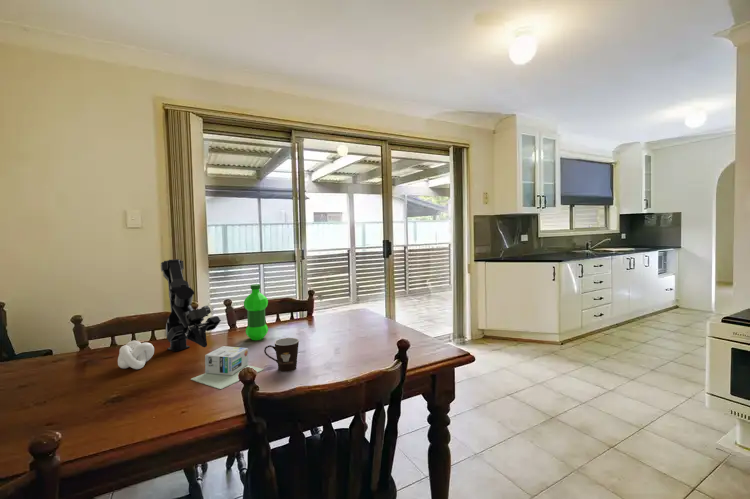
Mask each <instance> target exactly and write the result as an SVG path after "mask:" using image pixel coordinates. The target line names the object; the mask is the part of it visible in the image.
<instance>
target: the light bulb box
mask: <svg viewBox="0 0 750 499" xmlns="http://www.w3.org/2000/svg"><path fill="white" fill-rule="evenodd" d="M247 365H249V347H241V346H240V347H239V346H238V347H237V346H227V345H226V346H224V345H222V346H221V347H219V348H217V349H214V350H213V351H210V352H208V353H206V354H205V355H204V366H205V367H204V368H205V370H204V373H211V374H222V375H234V374H235V373H236V372H238V371H239V370H240V369H242V368H244V367H245V366H247Z"/></svg>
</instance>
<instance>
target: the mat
mask: <svg viewBox="0 0 750 499" xmlns="http://www.w3.org/2000/svg"><path fill="white" fill-rule="evenodd" d="M246 367H250V368H253V369H254V370H256V371H257V373H256V374H259V373H260V372H263V371H264V370H265V369H264V368H261V367H257V366H253V365H249V364H248V365H247V366H245V367H244V368H246ZM242 369H243V368H242ZM242 369H240V370H239V371H238V372H236V373H235V374H234V375H222V374H211V373H205V372H204V373H203V374H199V375H197V376H193V377H192V378H190V381H194V382H196V383H198V384H199V383H200V384H202V385H206V386H209V387H211V388H215V389H218V390H220V389H221V390H222V389H223V390H224V389H225V388H227V387H230V386H231V385H234V384H236V383H239V382H240V381H239V379H238V373H239V372H240V371H241V370H242Z"/></svg>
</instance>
